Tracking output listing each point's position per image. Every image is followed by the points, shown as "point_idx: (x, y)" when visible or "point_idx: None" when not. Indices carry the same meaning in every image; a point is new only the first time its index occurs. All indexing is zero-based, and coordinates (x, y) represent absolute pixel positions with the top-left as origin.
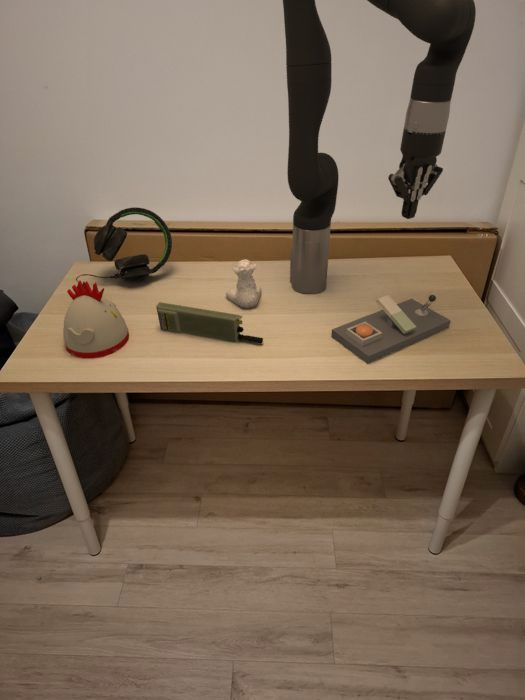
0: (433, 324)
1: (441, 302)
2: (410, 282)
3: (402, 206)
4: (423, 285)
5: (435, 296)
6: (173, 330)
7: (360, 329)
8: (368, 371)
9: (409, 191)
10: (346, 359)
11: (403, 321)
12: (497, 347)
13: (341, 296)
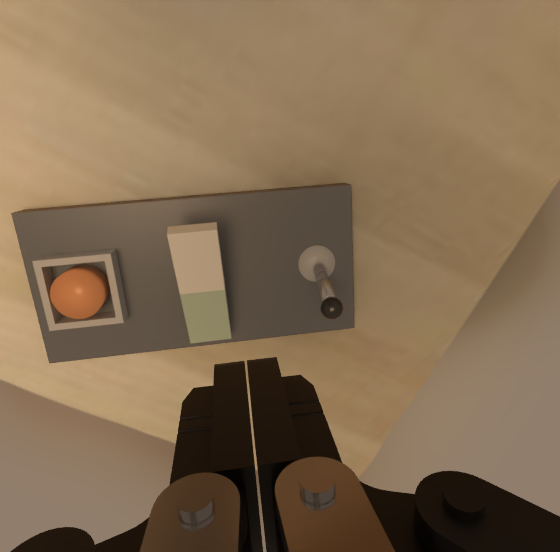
0: (300, 323)
1: (431, 213)
2: (452, 62)
3: (178, 438)
4: (469, 103)
5: (339, 315)
6: None
7: (62, 294)
8: (46, 374)
9: (282, 538)
10: (16, 315)
11: (204, 319)
12: (377, 419)
13: (182, 9)
